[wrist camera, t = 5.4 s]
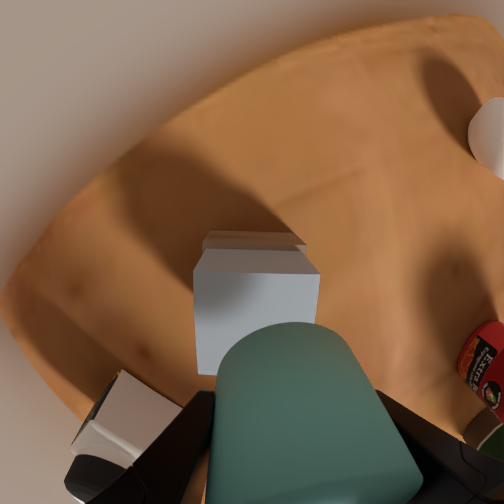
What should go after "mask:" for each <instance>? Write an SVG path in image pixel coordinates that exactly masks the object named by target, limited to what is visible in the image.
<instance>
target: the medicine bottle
mask: <svg viewBox="0 0 504 504" xmlns="http://www.w3.org/2000/svg"><path fill="white" fill-rule="evenodd" d="M182 409H183V408H181V407H179V406H178V405H176V404H174V403H173V402H171V401H169V400H168V399H166V398H165V397H163V396H161V395H160V394H158V393H157V392H155V391H154V390H152V389H151V388H149V387H148V386H146V385H145V384H143V383H142V382H140V381H139V380H137V379H136V378H134V377H133V376H132V375H130V374H129V373H127V372H126V371H125V370H123V369H121V370H119V371H118V373H117V374H116V375H115V377H114V378H113V379H112V381H111V382H110V383H109V385H108V386H107V387H106V389H105V390H104V391H103V393H102V394H101V395H100V397H99V398H98V400H97V401H96V402H95V404H94V406H93V407H92V409H91V411H90V412H89V414H88V416H87V418H86V419H85V421H84V423H83V425H82V426H81V428H80V430H79V432H78V433H77V435H76V437H75V439H74V441H73V442H72V444H71V446H70V450H71V452H72V453H74V454H75V455H76V457H75V459H74V461H73V463H72V465H71V467H70V469H69V471H68V473H67V475H66V477H65V480H64V483H65V486H66V489H67V490H68V491H69V492H70V494H71V495H72V496H73V497H74V498H75V499H76V500H78V501H79V502H80V503H81V504H85V503H86V502H88V501H89V500H91V499H92V498H94V497H95V496H96V495H98V494H99V493H100V492H102V491H103V490H104V489H106V488H107V487H108V486H109V485H111V484H112V483H113V482H114V481H115V480H116V479H117V478H118V477H119V476H120V475H121V474H122V473H123V472H124V471H125V470H126V469H127V468H128V467H129V466H132V463H133V462H134V461H135V460H136V459H137V458H138V457H139V456H140V455H141V454H142V453H143V452H144V451H145V450H146V449H147V448H148V447H149V445H150V444H151V443H152V442H153V441H154V440H155V439H156V438H157V437H158V436H159V435H160V434H161V433H162V431H163V430H164V429H165V428H166V427H167V426H168V425H169V424H170V423H171V422H172V420H173V419H174V418H175V417H176V416H177V415H178V414H179V413H180V412H181V410H182Z"/></svg>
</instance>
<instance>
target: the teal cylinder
mask: <svg viewBox="0 0 504 504" xmlns="http://www.w3.org/2000/svg"><path fill="white" fill-rule="evenodd" d="M422 483H423V476H422V474H421V472H420V470H419V468H418V467H417V465H416V463H415V461H414V459H413V457H412V455H411V453H410V452H409V450H408V448H407V446H406V444H405V442H404V441H403V439H402V437H401V435H400V433H399V432H398V430H397V428H396V426H395V424H394V423H393V421H392V419H391V417H390V416H389V414H388V412H387V410H386V409H385V407H384V405H383V403H382V402H381V400H380V398H379V396H378V395H377V393H376V391H375V390H374V388H373V386H372V384H371V383H370V381H369V379H368V378H367V376H366V374H365V373H364V371H363V369H362V367H361V366H360V364H359V362H358V361H357V359H356V357H355V356H354V354H353V352H352V351H351V349H350V347H349V346H348V344H347V343H346V342H345V340H344V339H343V338H342V337H341V336H339V335H338V334H337V333H335V332H334V331H332V330H330V329H328V328H326V327H323V326H321V325H317V324H313V323H306V322H286V323H278V324H274V325H270V326H267V327H264V328H261V329H258V330H256V331H254V332H252V333H250V334H248V335H247V336H245V337H243V338H242V339H241V340H239V341H238V342H237V343H235V344H234V345H233V346H232V347H231V348H230V349H229V350H228V352H227V353H226V355H225V356H224V357H223V359H222V361H221V363H220V365H219V368H218V372H217V380H216V389H215V398H214V409H213V419H212V429H211V438H210V449H209V460H208V471H207V483H206V495H205V504H406V503H407V502H408V501H410V500H411V499H412V498H413V497H414V496H415V494H416V493H417V492H418V491H419V489H420V487H421V486H422Z"/></svg>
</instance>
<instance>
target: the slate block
mask: <svg viewBox="0 0 504 504" xmlns="http://www.w3.org/2000/svg"><path fill="white" fill-rule="evenodd" d="M319 283H320V273H319V272H318V271H317V270H316V268H315V267H314V266H313V265H312V264H311V262H310V261H309V260H308V259H307V258H306V256H305V255H304V254H303V253H302V252H301V251H276V250H243V249H210V248H206V249H205V251H204V253H203V255H202V256H201V258H200V260H199V261H198V263H197V265H196V267H195V268H194V270H193V291H194V316H195V335H196V352H197V366H198V374H204V375H217V372H218V368H219V365H220V363H221V361H222V359H223V357H224V356H225V355H226V353H227V352H228V350H229V349H230V348H231V347H232V346H233V345H234V344H235V343H237V342H238V341H239V340H241V339H242V338H243V337H245V336H247V335H248V334H250V333H252V332H254V331H256V330H258V329H261V328H264V327H267V326H270V325H274V324H278V323H286V322H306V323H313V324H314V323H315V315H316V308H317V300H318V292H319Z"/></svg>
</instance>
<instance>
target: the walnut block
mask: <svg viewBox="0 0 504 504" xmlns="http://www.w3.org/2000/svg"><path fill="white" fill-rule="evenodd" d="M206 248H210V249H243V250H276V251H301V252H302V253H303V254H304V255H305V256H306V249H307V245H306V244H305V243H304V242H303V241H302V240H301V239H300V238H299V237H298V236H297V235H296V234H295V233H285V232H258V231H226V230H210V231H209V233H208V234H207V235H206V237H205V238H204V240H203V241H202V255H203V253H204V251H205V249H206Z"/></svg>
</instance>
